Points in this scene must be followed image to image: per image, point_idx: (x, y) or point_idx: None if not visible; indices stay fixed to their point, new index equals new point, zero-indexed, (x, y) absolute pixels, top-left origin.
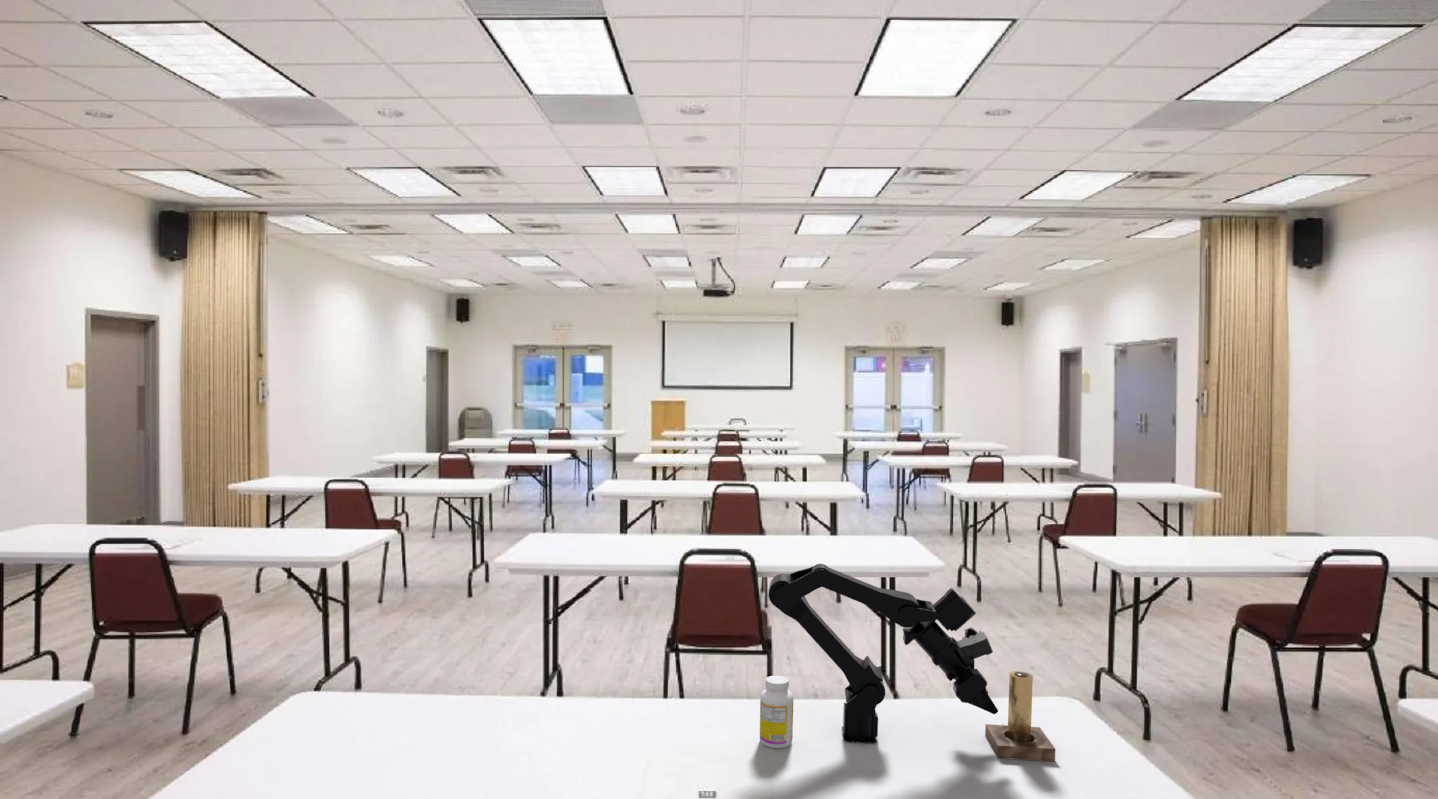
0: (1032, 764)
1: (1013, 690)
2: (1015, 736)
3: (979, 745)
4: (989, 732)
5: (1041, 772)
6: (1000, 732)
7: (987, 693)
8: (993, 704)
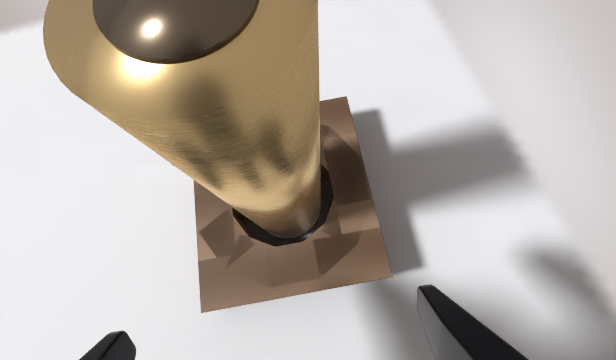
0: (385, 174)
1: (295, 149)
2: (317, 206)
3: (301, 333)
4: (266, 300)
5: (428, 155)
6: (267, 258)
7: (123, 337)
8: (486, 331)
